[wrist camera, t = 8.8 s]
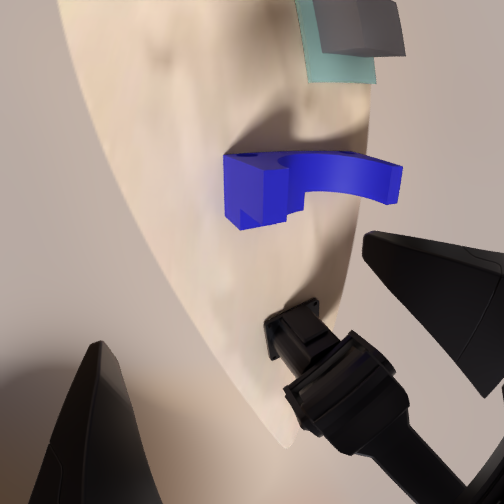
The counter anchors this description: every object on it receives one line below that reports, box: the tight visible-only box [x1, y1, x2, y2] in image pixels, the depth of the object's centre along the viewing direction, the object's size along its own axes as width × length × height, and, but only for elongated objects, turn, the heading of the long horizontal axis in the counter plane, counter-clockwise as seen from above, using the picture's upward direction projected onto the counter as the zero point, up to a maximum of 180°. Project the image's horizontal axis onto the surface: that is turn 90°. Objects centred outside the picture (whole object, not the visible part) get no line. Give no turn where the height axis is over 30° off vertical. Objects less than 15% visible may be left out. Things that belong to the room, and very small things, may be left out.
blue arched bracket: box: [223, 151, 403, 230], centre depth 19 cm, size 12×4×6 cm, turn 89°
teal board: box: [295, 0, 376, 84], centre depth 16 cm, size 10×8×1 cm
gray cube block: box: [312, 0, 406, 58], centre depth 14 cm, size 5×5×4 cm
